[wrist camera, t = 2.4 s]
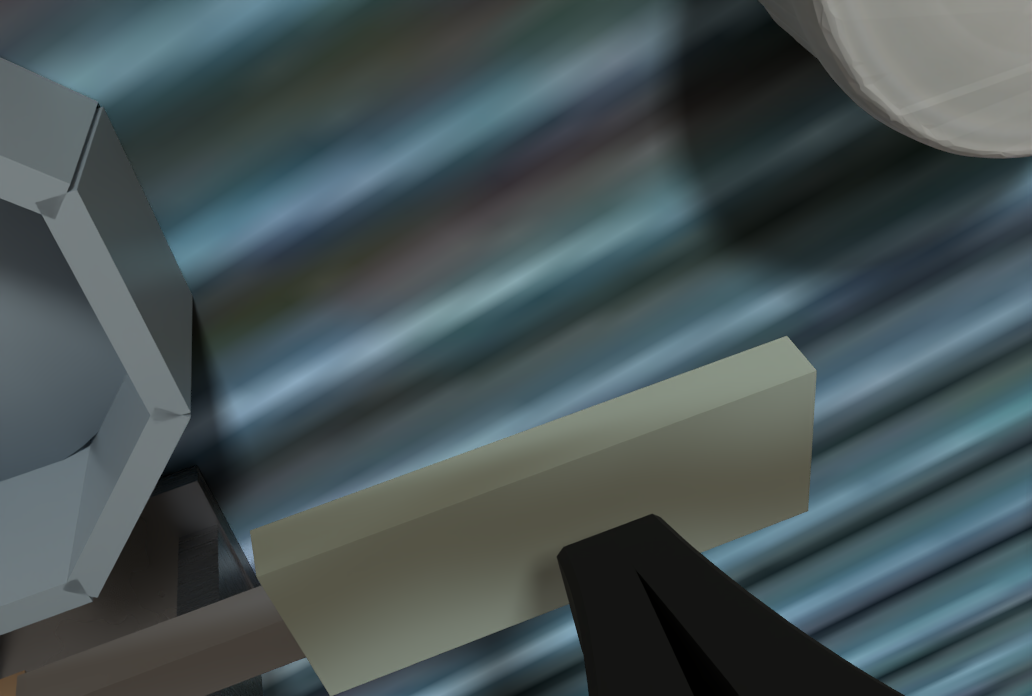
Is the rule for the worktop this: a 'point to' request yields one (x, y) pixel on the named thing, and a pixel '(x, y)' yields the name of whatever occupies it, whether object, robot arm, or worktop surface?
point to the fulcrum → (148, 581)
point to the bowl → (78, 348)
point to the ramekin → (928, 66)
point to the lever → (479, 536)
